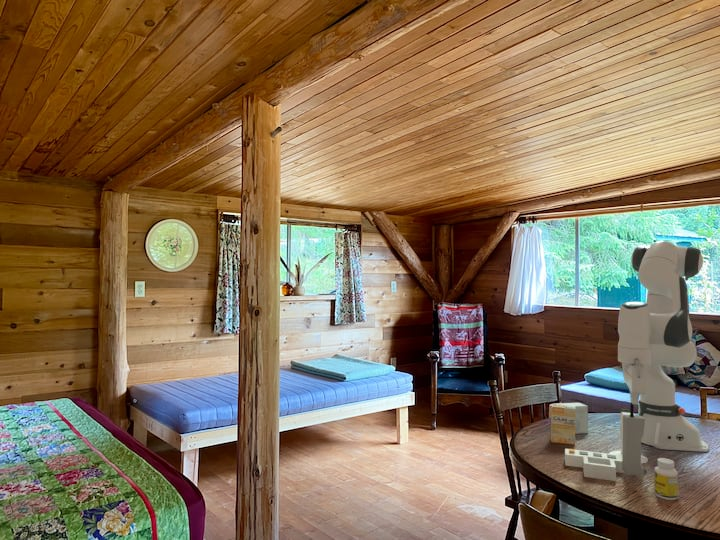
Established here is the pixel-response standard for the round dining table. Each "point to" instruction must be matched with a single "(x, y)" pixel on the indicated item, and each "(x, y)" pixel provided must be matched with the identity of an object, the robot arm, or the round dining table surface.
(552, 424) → the supplement box
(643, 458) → the white holder
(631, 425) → the vintage mobile phone
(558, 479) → the round dining table surface
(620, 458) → the charging dock
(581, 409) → the skincare box
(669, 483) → the supplement bottle
